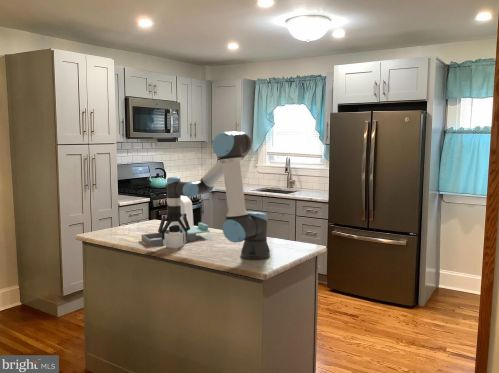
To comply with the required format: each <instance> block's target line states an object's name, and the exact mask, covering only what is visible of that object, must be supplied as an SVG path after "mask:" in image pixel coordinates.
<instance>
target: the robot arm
mask: <svg viewBox="0 0 499 373" xmlns="http://www.w3.org/2000/svg"><path fill="white" fill-rule="evenodd" d="M252 143H253V142H252V139H251V137H250V136H249V134H248V133H246V132H244V131H223V132H219V133H217V135H215V137H214V138H213V142H212V150H213V153H215V155H216V156H218V160H217V161H216V163H215V164H214V165H213V166H212V167H211V168H210V169H209V170H208V171H207V172H206V173H205V174H204V175H203V177H201V178H200V180H194V181H181V180H182V179H181V177H178V176H170V177H167V178H166V204H167V206H166V211H167V212H166V214H162V215H161V220H160V223H159V227H158V230H157V233H161V235H162V239H163V245H162V246H164V247H166V234H165V232H166V230H168V229H169V225H170V223H171V222H177V221H178V222H179V224H180V225H181V227H182V228H183V230H184V231H182V234H183V244H186V243H187V242H186V237H187V231H188V230H190V227H189V224H188V221H187V218H186V214H185V213H183V214H181V206H180V204H181V196H187V197H188V198H194V197H196V196H198V195H203V194H204V195H205V194H208V193H211V192H212V191H213V190H214V188H215V185H216V184H217V182H219V181H220V180H221V179H222V178H223V177H224V185H225V186H224V187H225V195H226V204H227V209H228V210H227V211H228V212H227V214H225V221H224V223H223V224H222V232H223V235H224V237H225V239H227V240H228V241H229V242H231V243H242V242H243V241H244V242H243V243H242V247H241V251H240V256H241V257H242V258H243V259H248V260H265V259H268V258H269V257H271V251H270V248H269V245H268V240H267V239H268V216H267V214H266V213H265V212H259V211H247V208H246V202H245V193H244V184H243V176H242V169H241V161H242V160H244V158H245V157H246V156H247V155H248V154H249V153H250V151H251V150H252V146H253V144H252ZM181 216H182V217H183V220H184V222H185V225H186V227H185V226H184V224H183V223H182V221H181V219H180V217H181ZM165 222H166V223H165Z"/></svg>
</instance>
